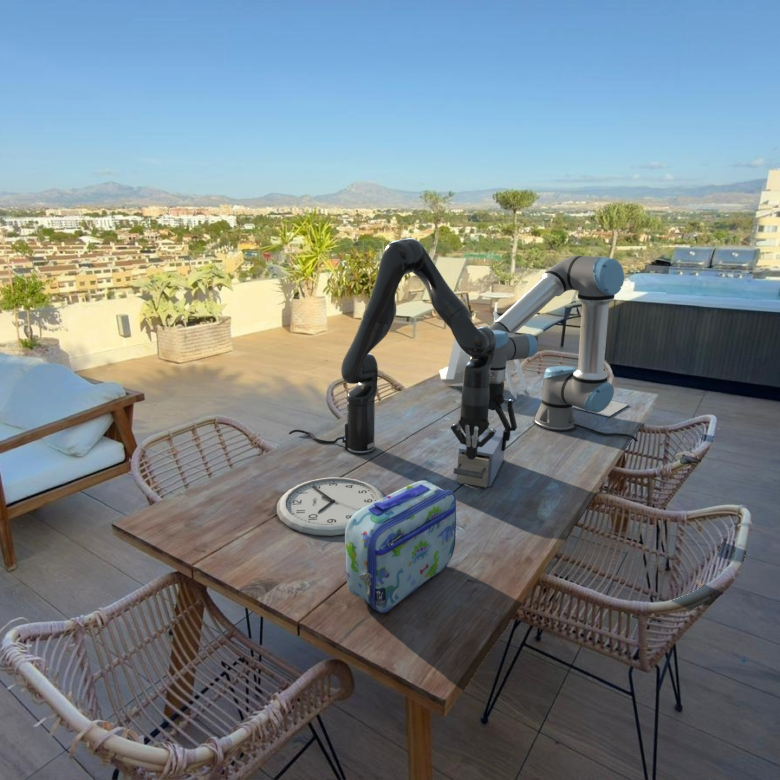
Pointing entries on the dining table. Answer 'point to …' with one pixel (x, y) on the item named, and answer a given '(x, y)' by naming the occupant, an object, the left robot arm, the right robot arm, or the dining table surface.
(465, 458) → the drawer
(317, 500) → the wall clock
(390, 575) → the lunch box
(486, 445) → the cabinet
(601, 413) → the invitation card
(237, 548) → the dining table surface
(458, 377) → the white plastic object
